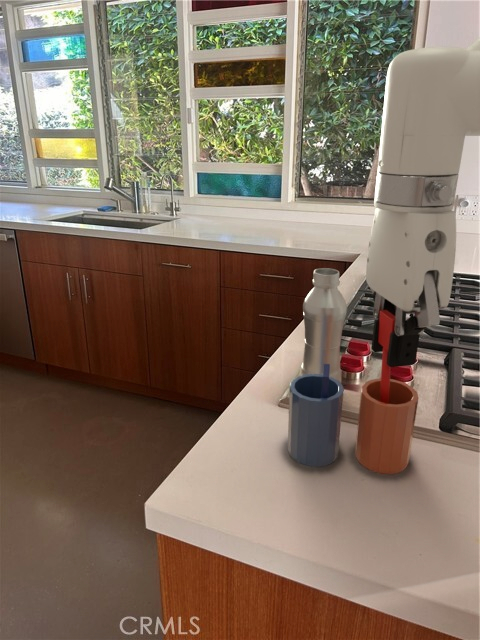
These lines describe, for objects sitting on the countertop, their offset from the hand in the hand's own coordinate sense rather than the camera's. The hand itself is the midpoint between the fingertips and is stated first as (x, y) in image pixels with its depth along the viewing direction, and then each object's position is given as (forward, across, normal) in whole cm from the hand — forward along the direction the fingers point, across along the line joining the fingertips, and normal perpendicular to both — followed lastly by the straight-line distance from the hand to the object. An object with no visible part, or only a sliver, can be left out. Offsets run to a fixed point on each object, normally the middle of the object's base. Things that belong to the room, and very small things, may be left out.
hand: (392, 356), depth 53 cm
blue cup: (+15, +3, +8) cm, 17 cm away
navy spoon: (+14, +3, +6) cm, 16 cm away
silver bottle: (+15, +17, +2) cm, 23 cm away
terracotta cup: (+15, 0, 0) cm, 15 cm away
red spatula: (+11, 0, 0) cm, 11 cm away
